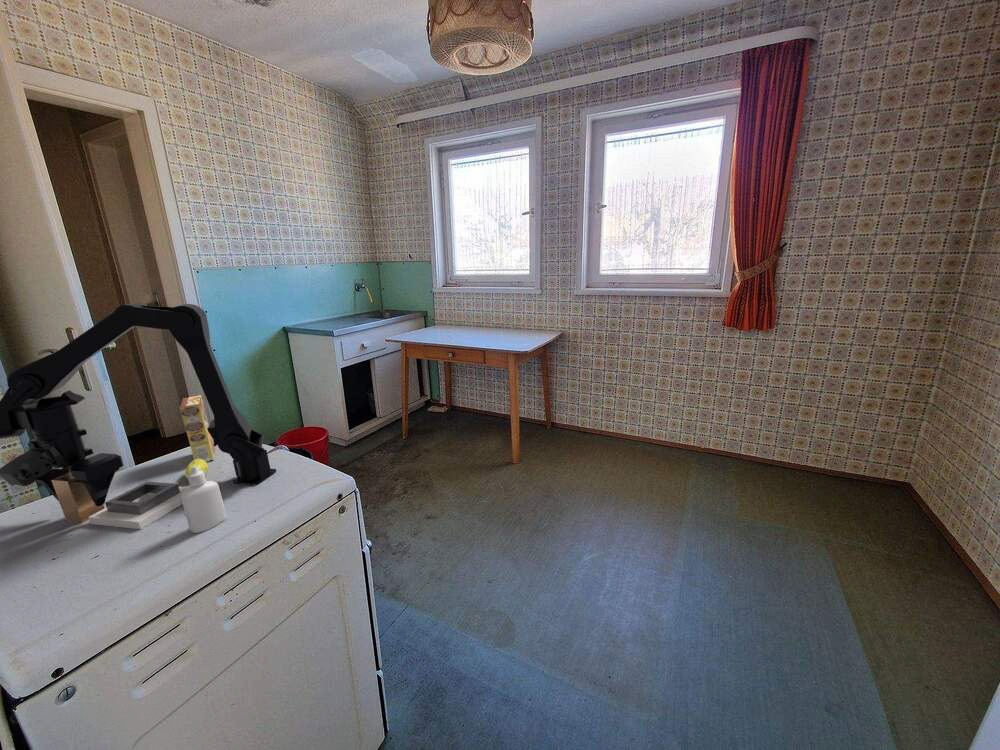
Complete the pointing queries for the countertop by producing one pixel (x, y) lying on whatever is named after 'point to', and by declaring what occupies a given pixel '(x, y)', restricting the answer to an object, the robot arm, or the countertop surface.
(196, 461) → the yellow elongated oval piece
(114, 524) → the collar plate
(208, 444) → the candy box
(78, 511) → the wooden square prism
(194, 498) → the eye dropper bottle
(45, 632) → the countertop surface
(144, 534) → the countertop surface
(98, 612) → the countertop surface
